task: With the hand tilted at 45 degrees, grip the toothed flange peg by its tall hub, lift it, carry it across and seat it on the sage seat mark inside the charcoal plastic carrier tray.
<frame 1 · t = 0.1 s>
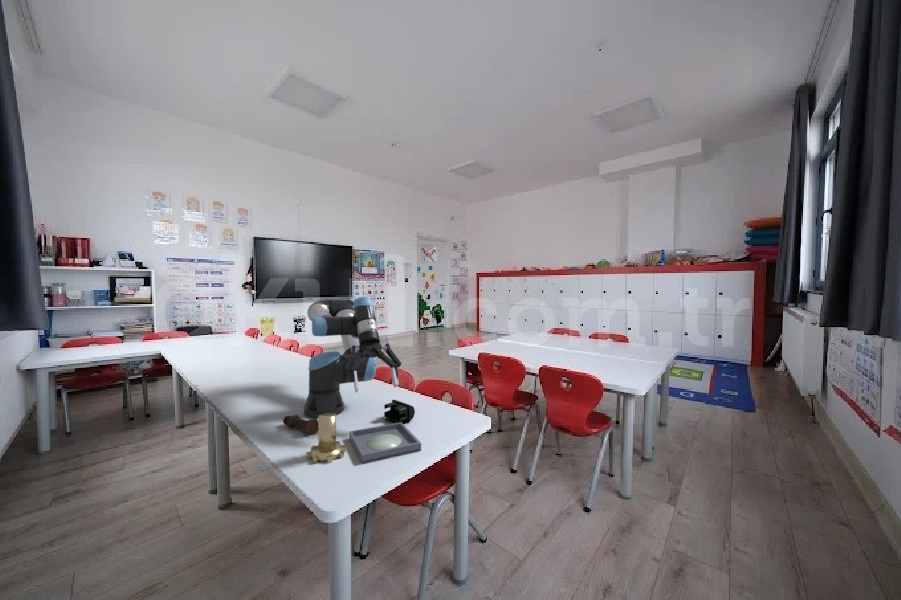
hand: (376, 388, 115), 15 cm above the table, tool tilted 35°, fingers open, 13 cm apart
toothed flange peg: (327, 454, 99), on the table
carrier tray: (383, 444, 106), on the table
bolt: (299, 430, 117), on the table
end cap: (399, 421, 126), on the table
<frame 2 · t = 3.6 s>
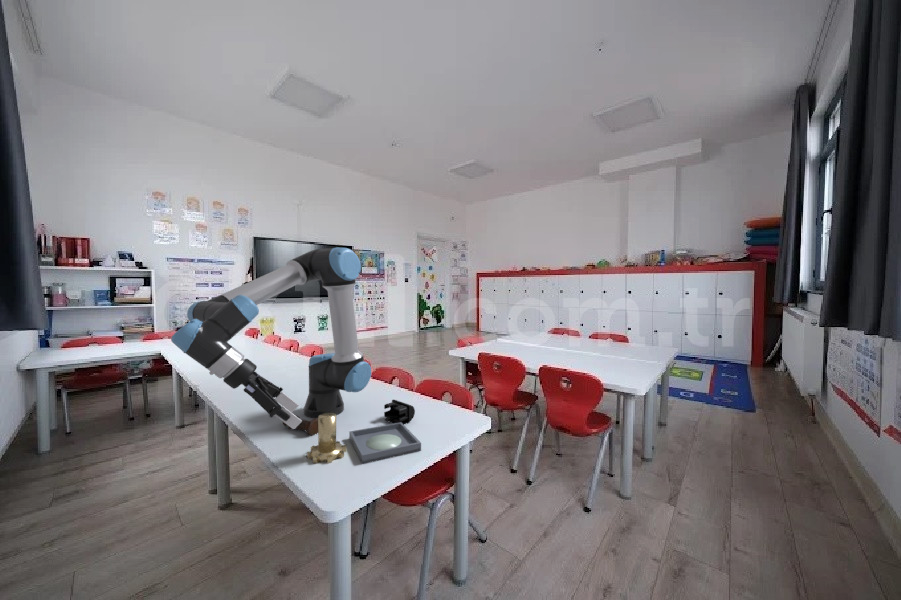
hand: (296, 416, 94), 13 cm above the table, tool tilted 45°, fingers open, 13 cm apart
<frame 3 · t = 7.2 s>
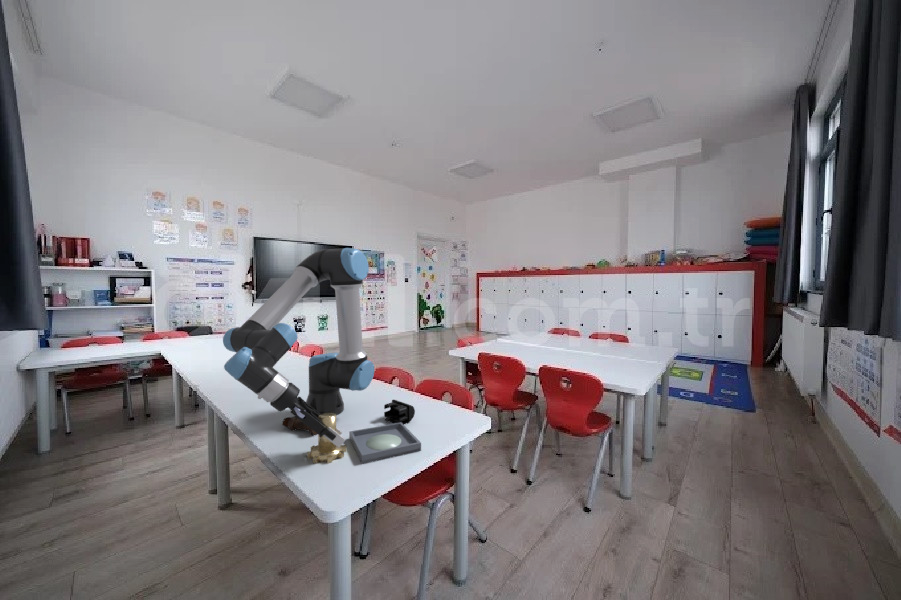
hand: (340, 439, 101), 4 cm above the table, tool tilted 45°, fingers closed on toothed flange peg, 5 cm apart
toothed flange peg: (327, 454, 99), on the table, touching gripper
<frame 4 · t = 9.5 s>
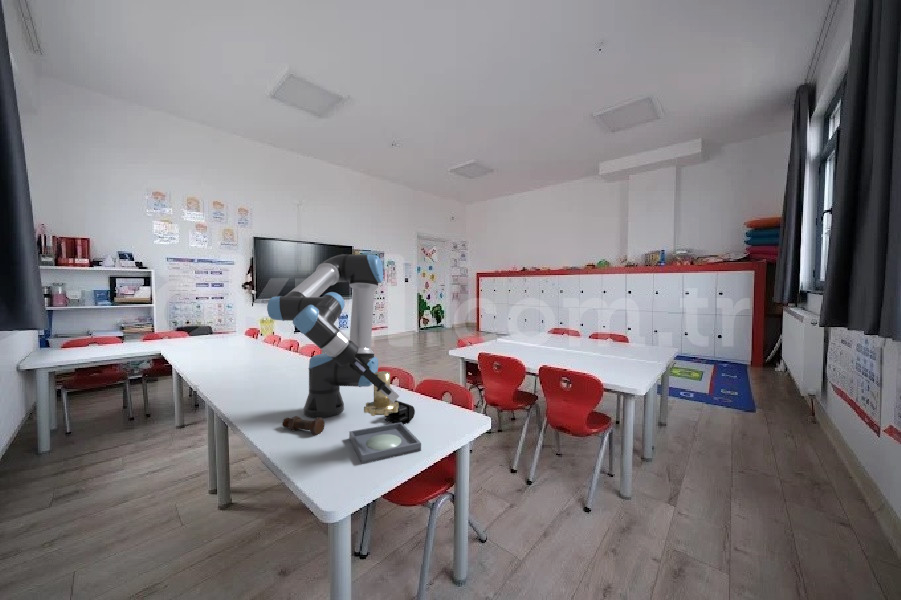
hand: (393, 396, 107), 15 cm above the table, tool tilted 45°, fingers closed on toothed flange peg, 5 cm apart
toothed flange peg: (381, 409, 105), point 11 cm above the table, touching gripper
when the fingers open (6 cm above the table, at t = 12.0 s): toothed flange peg drops 1 cm, resting on carrier tray.
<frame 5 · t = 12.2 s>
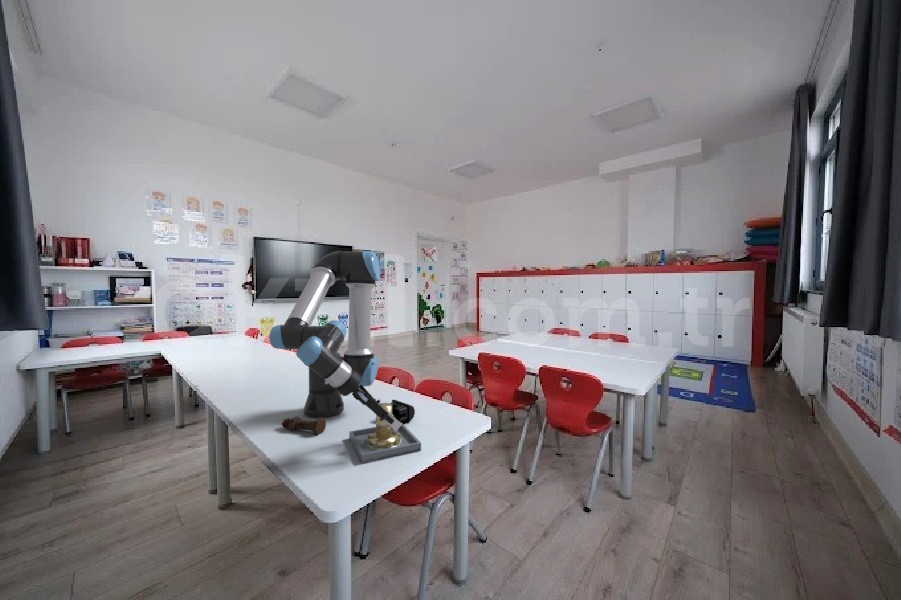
hand: (394, 422, 108), 6 cm above the table, tool tilted 45°, fingers open, 7 cm apart
toothed flange peg: (383, 441, 106), point 1 cm above the table, touching carrier tray
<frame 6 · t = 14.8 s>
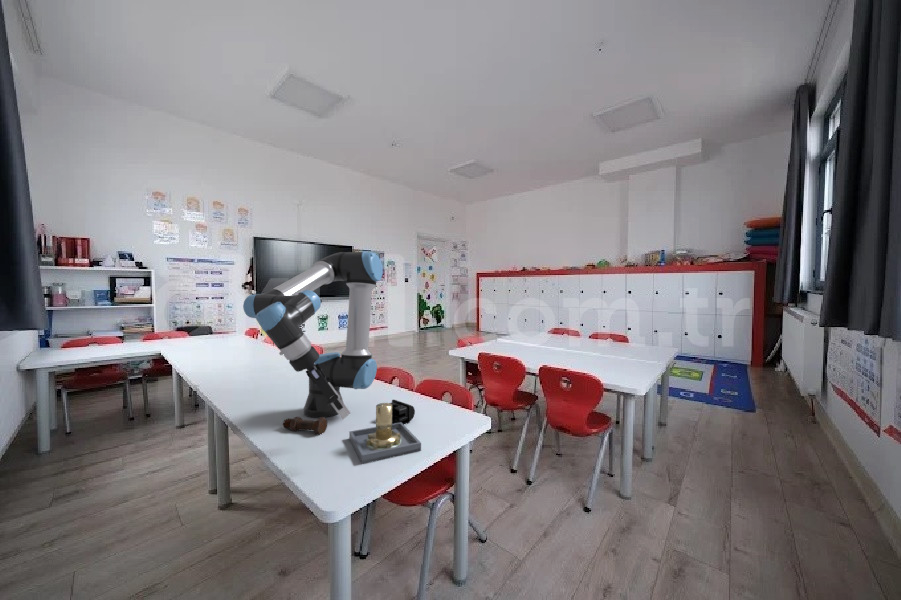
hand: (341, 407, 101), 13 cm above the table, tool tilted 35°, fingers open, 13 cm apart
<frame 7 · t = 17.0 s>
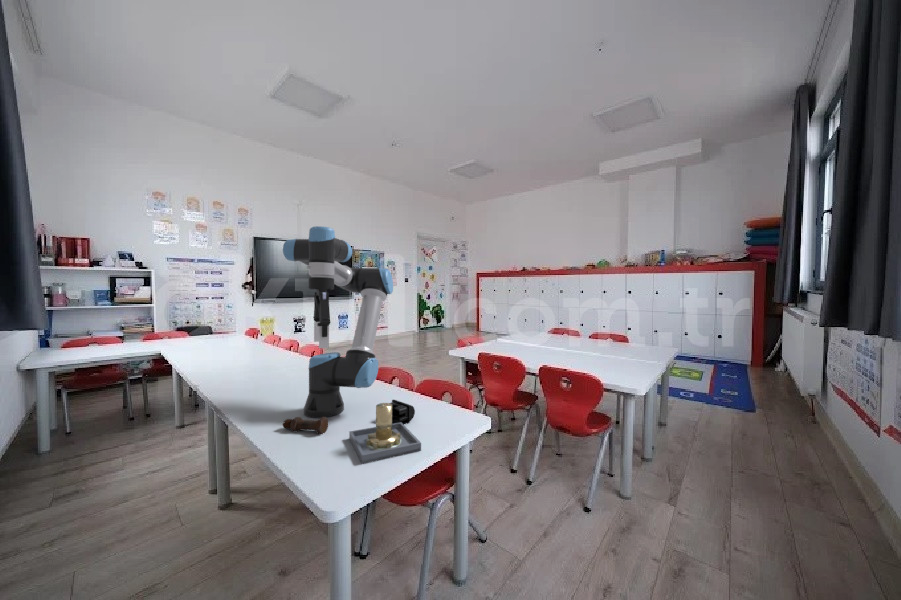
hand: (321, 344, 105), 32 cm above the table, tool pointing down, fingers open, 13 cm apart
at the end: toothed flange peg inside the target area on the carrier tray (0.1 cm from its centre), point 0.9 cm above the carrier tray's base; the gripper is holding nothing; toothed flange peg tilted 0° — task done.
